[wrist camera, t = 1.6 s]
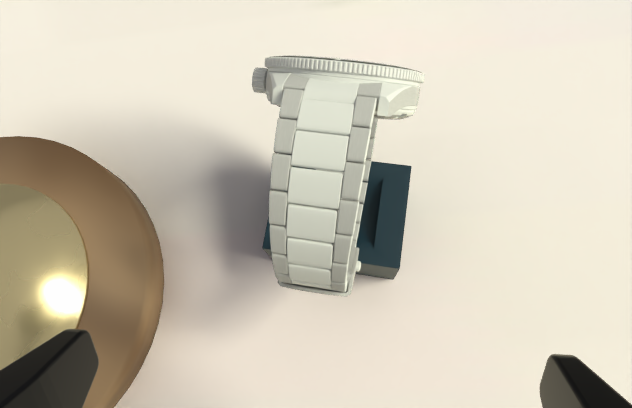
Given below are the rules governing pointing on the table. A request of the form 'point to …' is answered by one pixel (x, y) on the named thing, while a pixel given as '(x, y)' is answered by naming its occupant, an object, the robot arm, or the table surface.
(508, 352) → the table surface
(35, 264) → the round dish
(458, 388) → the table surface
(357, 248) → the watch
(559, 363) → the robot arm
